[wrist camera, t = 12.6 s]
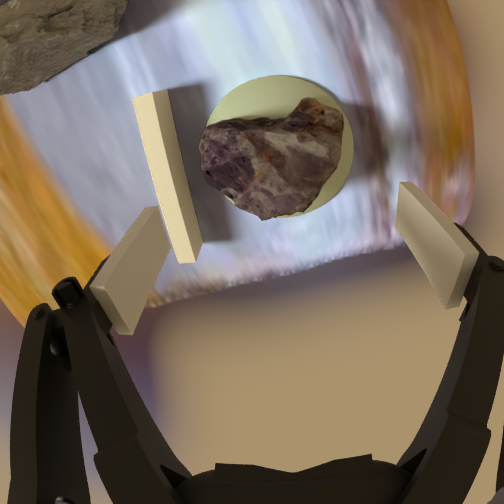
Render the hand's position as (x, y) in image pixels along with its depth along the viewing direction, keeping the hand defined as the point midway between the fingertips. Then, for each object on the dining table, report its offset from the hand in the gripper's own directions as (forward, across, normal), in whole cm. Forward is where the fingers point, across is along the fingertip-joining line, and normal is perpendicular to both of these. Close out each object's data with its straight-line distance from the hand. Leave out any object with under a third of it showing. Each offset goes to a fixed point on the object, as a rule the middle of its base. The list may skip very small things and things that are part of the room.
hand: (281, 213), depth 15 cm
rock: (+14, 0, 0) cm, 15 cm away
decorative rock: (+16, -20, +18) cm, 31 cm away
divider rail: (+15, -11, -1) cm, 18 cm away
